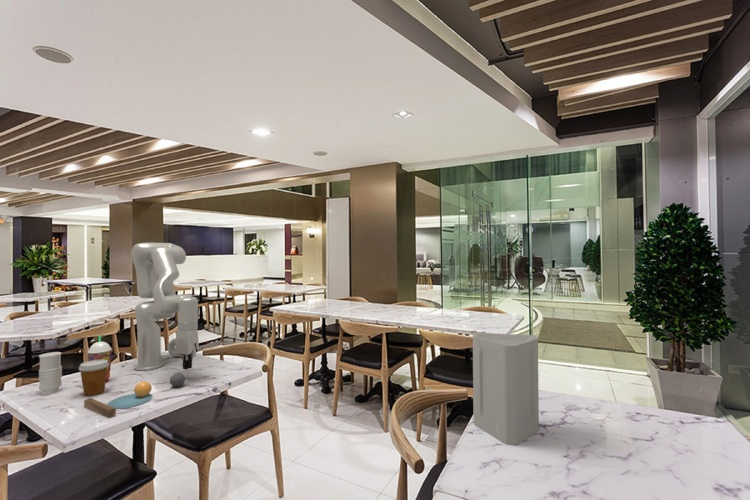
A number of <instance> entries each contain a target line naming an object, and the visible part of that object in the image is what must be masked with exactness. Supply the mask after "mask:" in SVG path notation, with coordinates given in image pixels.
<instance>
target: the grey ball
mask: <svg viewBox="0 0 750 500" xmlns="http://www.w3.org/2000/svg"><path fill="white" fill-rule="evenodd" d="M185 381H186V376H185V374H184V373H183V372H175V373H173V374H172V375H171V376H170V378H169V384H170V385H171V386H172V387H174V388H178V387H181V386H183V385H184V383H185Z"/></svg>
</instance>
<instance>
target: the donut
mask: <svg viewBox="0 0 750 500" xmlns="http://www.w3.org/2000/svg"><path fill="white" fill-rule="evenodd" d="M175 343H176V337H175V338H173V339H171V340H170V341H169V342H168V345H167V351H168V353H169V354H170V355H171V357H172V358H173V357H174V358H180V357H182V355H181V354H180V353H179V352H177V351H176V350H175ZM169 354H168V355H169Z"/></svg>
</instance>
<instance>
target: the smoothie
mask: <svg viewBox="0 0 750 500" xmlns="http://www.w3.org/2000/svg"><path fill="white" fill-rule="evenodd" d="M101 337H102V336H101V334H100V335H98V341H97V342H95V343H92V345H91V346H90V347H89V349H88V351H87V352H86V353H87V361H92V360H102V359H104V360H107V361H108V363H109V365H108V367H107V374H106V382H105V383H107V382H109V379H110V377H111V370H110V369H111V363H112V349H113V348H112V346H110V344H109V343H108V342H105V341H102V339H101Z"/></svg>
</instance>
